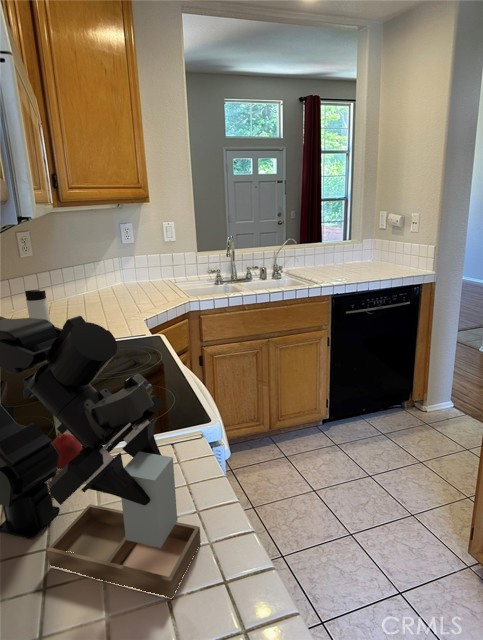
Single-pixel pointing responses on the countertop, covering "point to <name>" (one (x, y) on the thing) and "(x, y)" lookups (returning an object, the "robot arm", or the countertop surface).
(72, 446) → the onion
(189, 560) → the slot holder
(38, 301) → the travel mug
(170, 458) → the grey tall block
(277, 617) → the countertop surface
